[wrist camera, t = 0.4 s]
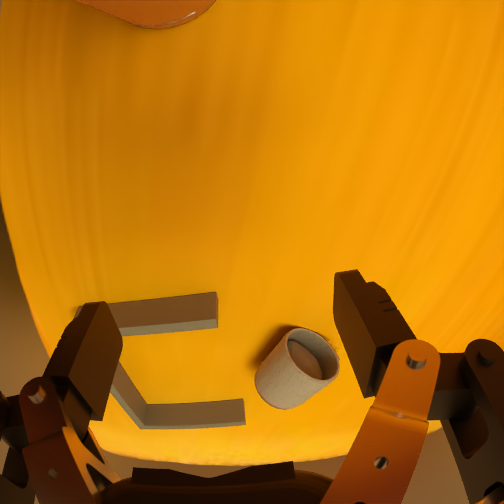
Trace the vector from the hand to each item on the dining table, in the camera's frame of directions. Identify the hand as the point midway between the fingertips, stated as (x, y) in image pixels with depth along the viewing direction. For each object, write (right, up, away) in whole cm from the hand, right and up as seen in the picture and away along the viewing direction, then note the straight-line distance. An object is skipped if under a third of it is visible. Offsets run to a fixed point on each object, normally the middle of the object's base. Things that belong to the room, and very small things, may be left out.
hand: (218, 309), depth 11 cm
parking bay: (-9, -13, +28) cm, 32 cm away
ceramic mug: (+7, -10, +28) cm, 31 cm away
